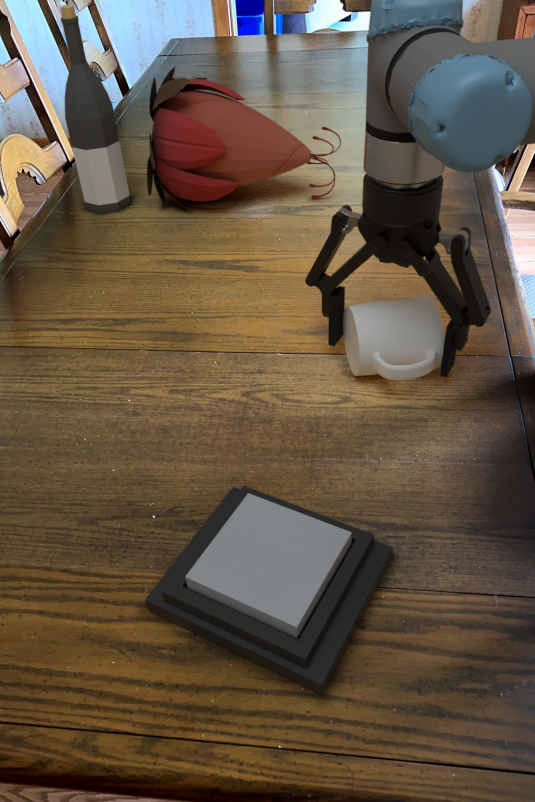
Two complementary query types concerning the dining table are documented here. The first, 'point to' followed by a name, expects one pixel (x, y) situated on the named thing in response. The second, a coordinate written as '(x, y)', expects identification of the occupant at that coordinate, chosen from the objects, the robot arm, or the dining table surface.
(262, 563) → the grey tile on plinth
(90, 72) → the wine bottle
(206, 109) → the decorative flower
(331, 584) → the black stepped plinth
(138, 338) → the dining table surface
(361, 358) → the mug
